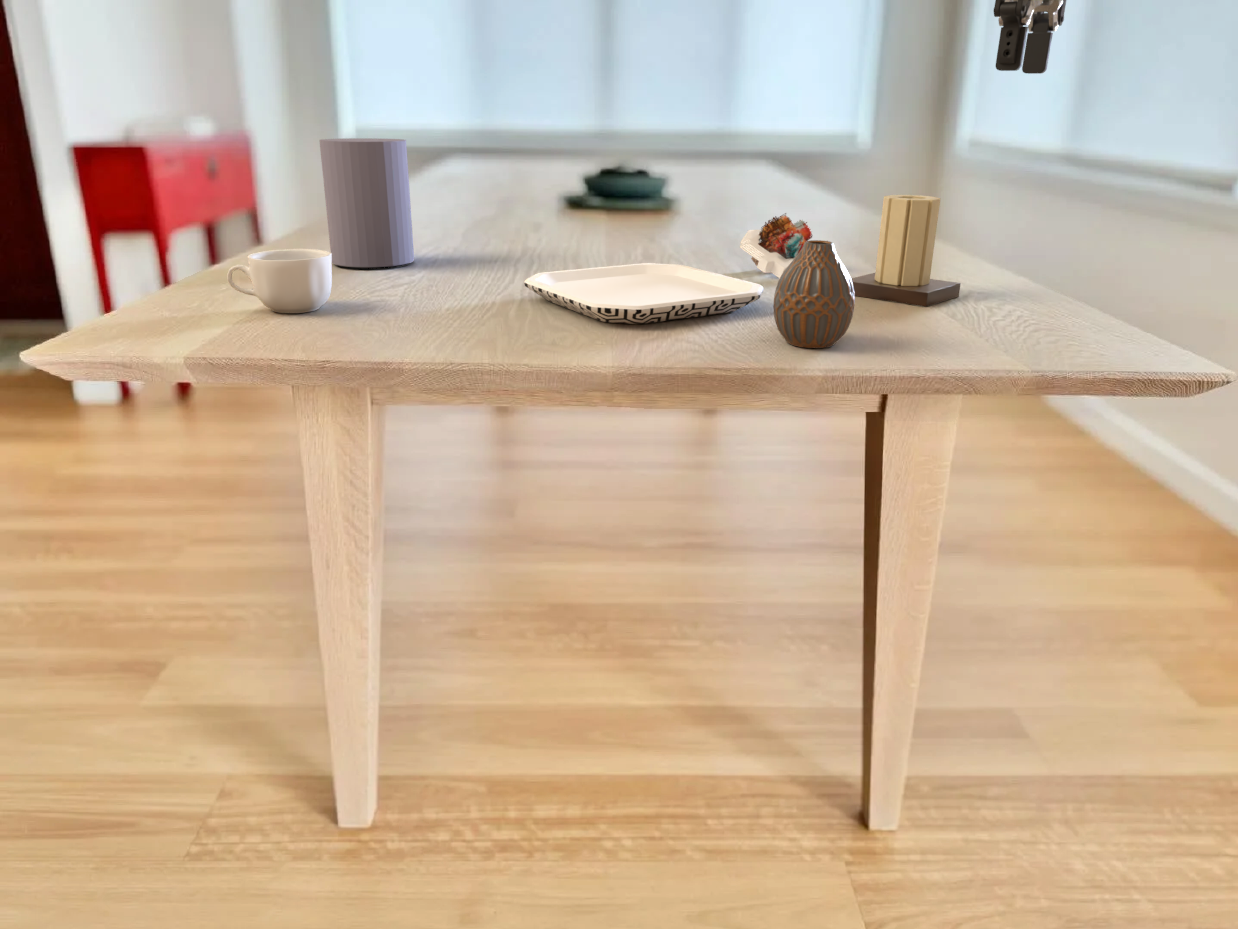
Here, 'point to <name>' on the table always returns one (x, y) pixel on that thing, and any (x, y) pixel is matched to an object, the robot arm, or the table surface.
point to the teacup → (288, 279)
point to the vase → (814, 297)
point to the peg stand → (906, 291)
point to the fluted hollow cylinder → (907, 239)
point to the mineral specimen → (776, 244)
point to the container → (367, 202)
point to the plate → (644, 292)
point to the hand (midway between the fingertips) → (1021, 71)
